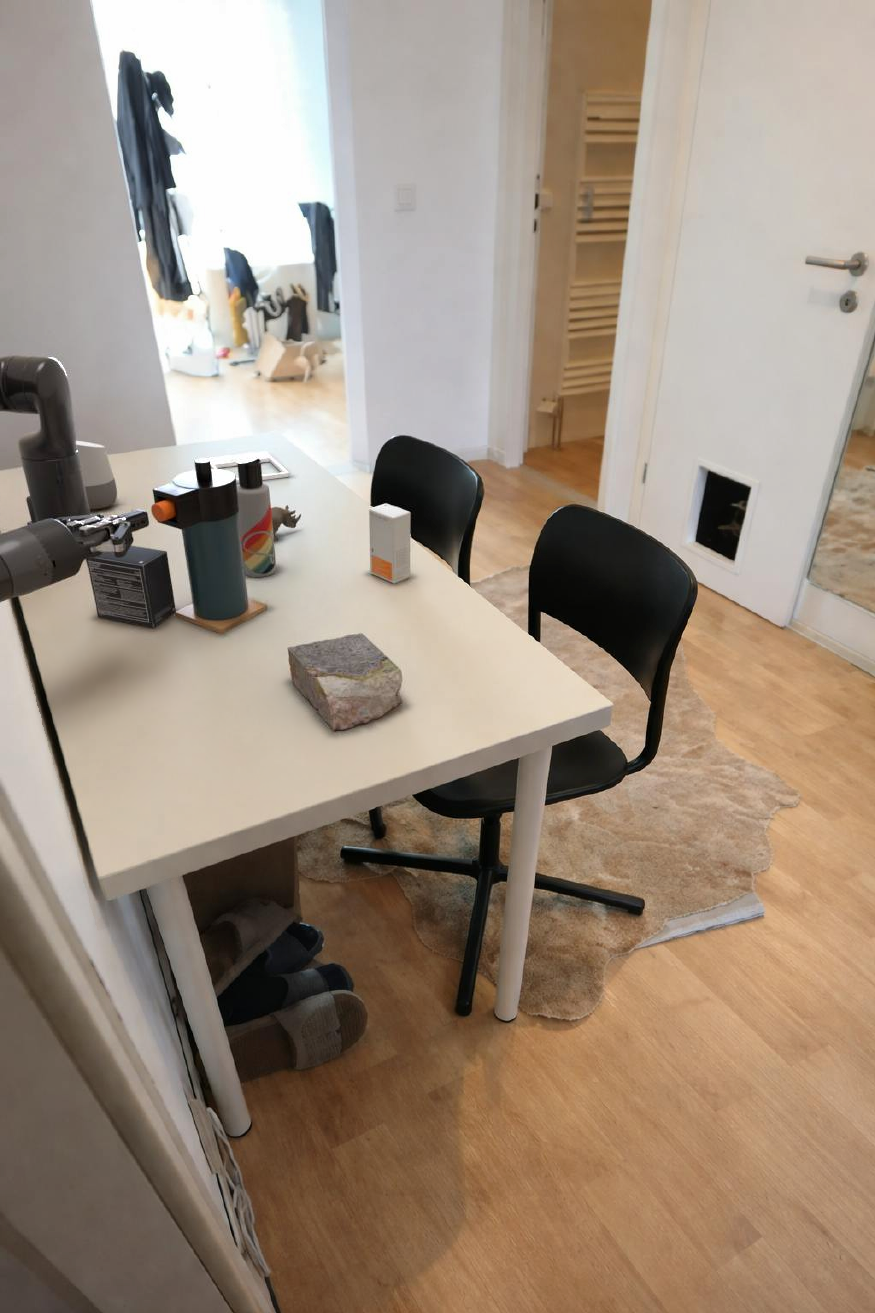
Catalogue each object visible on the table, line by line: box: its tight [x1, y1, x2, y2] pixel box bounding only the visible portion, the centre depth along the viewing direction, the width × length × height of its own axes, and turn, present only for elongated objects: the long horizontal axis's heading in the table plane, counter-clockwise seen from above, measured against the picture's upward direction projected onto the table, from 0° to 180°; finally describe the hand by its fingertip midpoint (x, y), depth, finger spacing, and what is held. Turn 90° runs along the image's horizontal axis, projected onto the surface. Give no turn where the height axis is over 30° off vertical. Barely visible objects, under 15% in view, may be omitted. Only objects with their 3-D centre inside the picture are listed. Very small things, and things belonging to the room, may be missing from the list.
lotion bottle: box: [237, 457, 277, 578], centre depth 139 cm, size 6×6×20 cm
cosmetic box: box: [368, 502, 412, 585], centre depth 140 cm, size 6×4×12 cm
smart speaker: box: [76, 440, 118, 512], centre depth 166 cm, size 10×9×14 cm
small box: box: [85, 545, 177, 629], centre depth 126 cm, size 11×6×10 cm, turn 71°
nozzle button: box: [150, 499, 176, 522], centre depth 115 cm, size 3×3×3 cm
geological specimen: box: [287, 632, 403, 731], centre depth 109 cm, size 11×6×15 cm
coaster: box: [174, 597, 268, 635], centre depth 130 cm, size 10×10×1 cm
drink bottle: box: [152, 457, 249, 620], centre depth 122 cm, size 12×9×24 cm
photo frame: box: [206, 451, 290, 484], centre depth 191 cm, size 15×1×18 cm
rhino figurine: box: [271, 504, 302, 542], centre depth 155 cm, size 4×14×6 cm, turn 131°
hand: (144, 517), depth 112 cm, fingers closed
